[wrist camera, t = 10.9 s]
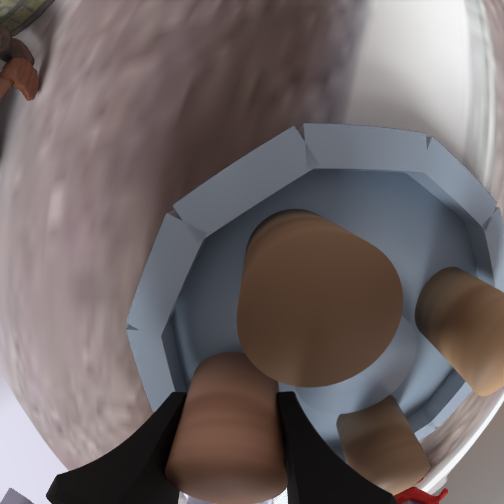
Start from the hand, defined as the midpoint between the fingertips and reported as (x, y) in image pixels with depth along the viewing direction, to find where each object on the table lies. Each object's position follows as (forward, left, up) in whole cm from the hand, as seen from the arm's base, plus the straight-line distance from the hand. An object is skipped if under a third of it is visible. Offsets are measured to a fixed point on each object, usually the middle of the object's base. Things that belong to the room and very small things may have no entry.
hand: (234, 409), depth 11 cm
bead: (+3, -11, -2) cm, 12 cm away
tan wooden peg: (+6, -3, -2) cm, 7 cm away
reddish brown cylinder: (0, 0, -1) cm, 1 cm away
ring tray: (+1, -6, -3) cm, 7 cm away
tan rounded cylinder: (-4, -8, -2) cm, 9 cm away
